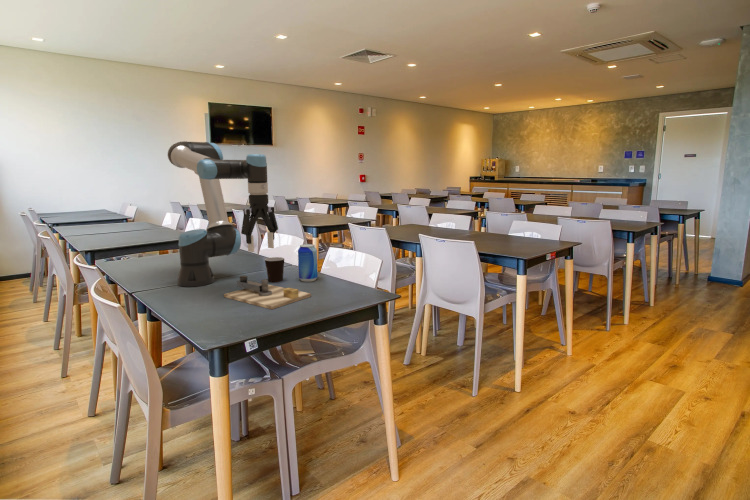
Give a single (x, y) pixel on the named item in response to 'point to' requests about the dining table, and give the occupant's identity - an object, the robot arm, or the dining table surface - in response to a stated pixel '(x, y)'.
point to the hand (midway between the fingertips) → (261, 249)
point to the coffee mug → (275, 269)
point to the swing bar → (249, 284)
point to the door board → (268, 296)
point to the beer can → (307, 262)
